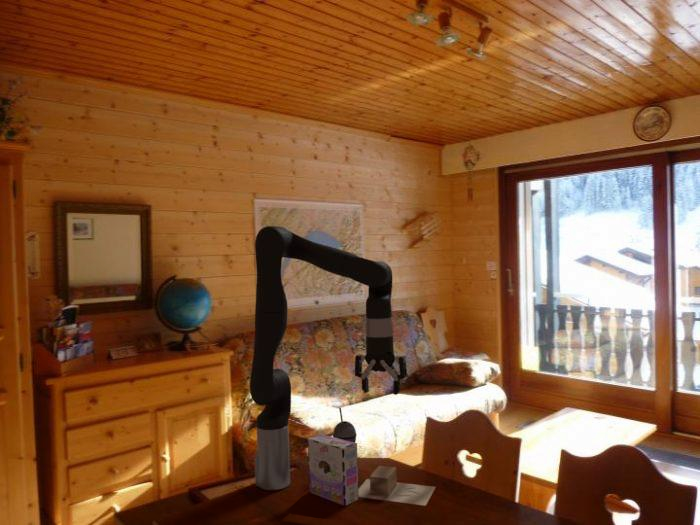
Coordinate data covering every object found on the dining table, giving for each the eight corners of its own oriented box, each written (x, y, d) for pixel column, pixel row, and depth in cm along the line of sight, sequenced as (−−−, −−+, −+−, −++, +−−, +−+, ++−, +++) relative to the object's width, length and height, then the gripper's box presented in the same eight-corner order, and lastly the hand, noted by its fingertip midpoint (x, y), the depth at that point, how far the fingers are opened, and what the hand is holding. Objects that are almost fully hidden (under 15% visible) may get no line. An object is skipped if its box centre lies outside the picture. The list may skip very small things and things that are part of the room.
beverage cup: (357, 477, 163) (355, 410, 163) (333, 477, 164) (331, 411, 163) (357, 467, 171) (355, 403, 171) (334, 468, 171) (332, 404, 171)
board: (352, 501, 147) (352, 495, 147) (367, 483, 158) (367, 478, 158) (425, 511, 140) (425, 505, 140) (435, 492, 151) (435, 486, 151)
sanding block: (370, 494, 147) (369, 476, 147) (379, 483, 155) (379, 465, 155) (388, 497, 146) (387, 478, 146) (396, 485, 153) (396, 467, 153)
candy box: (360, 504, 145) (358, 442, 145) (344, 512, 141) (342, 448, 141) (323, 490, 155) (322, 432, 155) (308, 497, 151) (306, 437, 150)
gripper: (350, 335, 149) (352, 395, 149) (400, 336, 144) (402, 398, 144) (359, 331, 156) (361, 388, 156) (408, 332, 151) (409, 391, 151)
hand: (381, 393), depth 150 cm, fingers open, 8 cm apart
